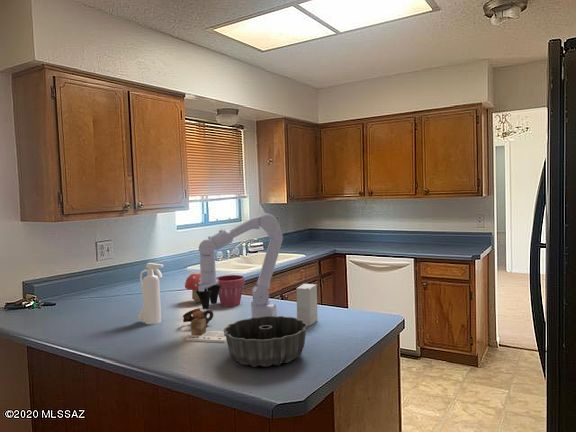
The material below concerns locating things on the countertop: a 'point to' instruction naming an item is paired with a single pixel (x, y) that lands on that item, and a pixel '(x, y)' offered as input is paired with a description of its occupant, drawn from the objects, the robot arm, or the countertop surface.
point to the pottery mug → (198, 315)
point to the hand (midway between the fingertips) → (209, 306)
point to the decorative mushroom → (193, 284)
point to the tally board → (208, 337)
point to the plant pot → (230, 289)
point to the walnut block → (198, 326)
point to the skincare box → (307, 303)
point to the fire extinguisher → (151, 294)
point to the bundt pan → (266, 340)
